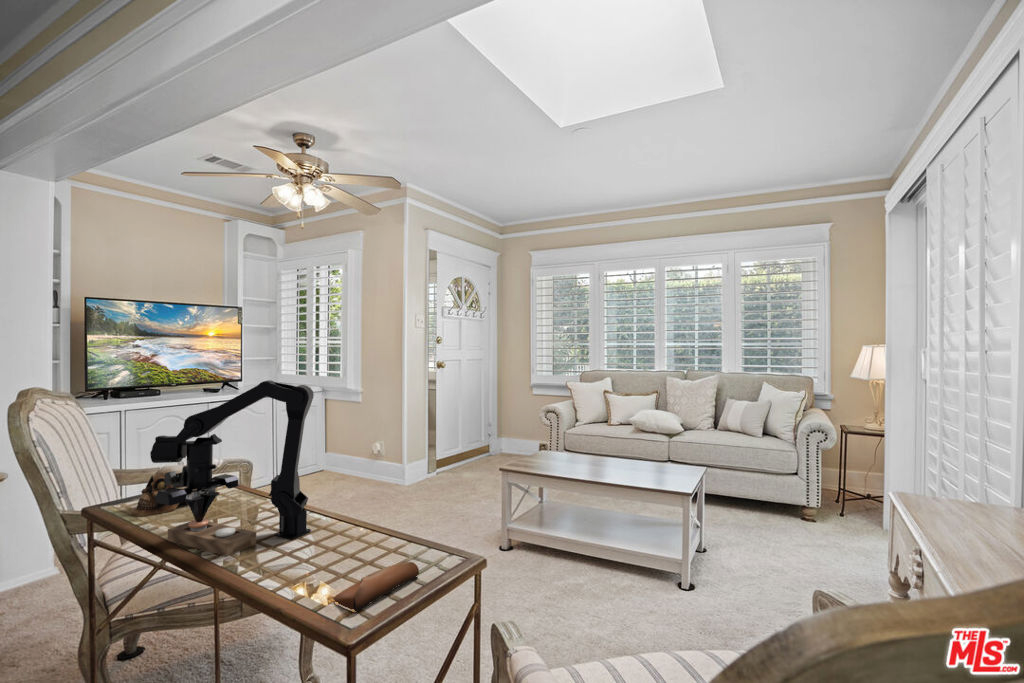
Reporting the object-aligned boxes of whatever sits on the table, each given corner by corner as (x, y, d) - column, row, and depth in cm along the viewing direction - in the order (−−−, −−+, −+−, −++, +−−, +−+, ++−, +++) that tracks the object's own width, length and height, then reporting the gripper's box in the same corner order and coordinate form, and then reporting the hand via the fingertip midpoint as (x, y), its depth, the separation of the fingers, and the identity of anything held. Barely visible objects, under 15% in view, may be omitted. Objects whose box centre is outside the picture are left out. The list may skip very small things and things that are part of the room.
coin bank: (125, 516, 146) (131, 469, 147) (157, 504, 163) (162, 461, 164) (184, 516, 148) (188, 470, 149) (209, 504, 165) (214, 462, 166)
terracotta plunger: (212, 534, 131) (212, 520, 131) (195, 540, 127) (196, 525, 127) (200, 531, 133) (201, 517, 133) (184, 537, 129) (184, 523, 129)
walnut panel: (256, 544, 128) (256, 532, 128) (227, 556, 120) (227, 543, 120) (197, 530, 136) (198, 519, 136) (167, 540, 129) (167, 529, 129)
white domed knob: (239, 543, 127) (239, 529, 127) (223, 550, 123) (223, 535, 123) (227, 540, 129) (227, 526, 129) (210, 546, 125) (211, 532, 125)
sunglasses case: (391, 568, 115) (402, 546, 113) (411, 590, 112) (423, 568, 110) (326, 602, 99) (338, 578, 98) (347, 630, 96) (360, 605, 95)
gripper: (212, 451, 142) (211, 506, 142) (141, 466, 125) (140, 529, 125) (240, 455, 138) (239, 512, 138) (170, 471, 120) (169, 536, 120)
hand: (198, 521), depth 130 cm, fingers closed, pressing on terracotta plunger
